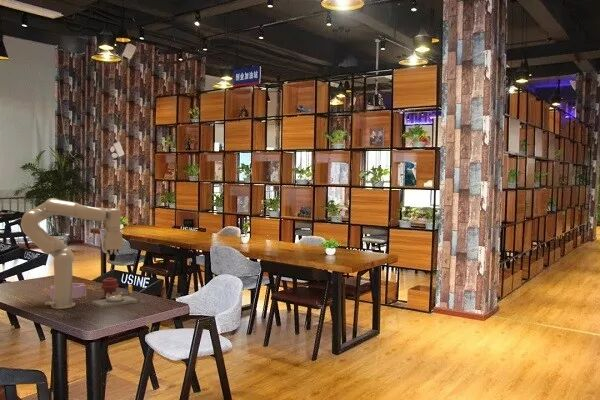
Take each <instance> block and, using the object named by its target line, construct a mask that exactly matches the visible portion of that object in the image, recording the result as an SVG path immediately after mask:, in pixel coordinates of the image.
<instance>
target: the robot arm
mask: <svg viewBox="0 0 600 400" xmlns="http://www.w3.org/2000/svg"><path fill="white" fill-rule="evenodd" d="M121 212H122V211H121V209H120V208H117V207H113V208H112V207H111V208H109V207H108V208H107V207H101V206H100V207H94V206H88V205H83V204H80V203H78V202H76V201H67V200H63V199H59V198H56V197H52V198H48V199H46V200H45V201H44V202H43V203H41V204H39V205H38V206H36V207H33V208H32V209H29V210H27V211H26V212H25V213H24V214H23V215H22V217H21V220H20V227H21V229H22V232H23V233H24V234H25V236H27V238H28V239H29V240H31V242H33V243H34V245H35V246H36V247H37V248H38V249H39V250H40V251H42V252H43V253H44V254H46V255H50V256H51V257H52V258H53V273H54V274H53V275H54V277H53V279H54V282H53V283H54V284H53V286H54V299H51V300H49V301H45V302H44V305H45V306H47V305H48V306H51V309H55V310H58V309H59V310H63V309H70V308H73V307H76V303H75V302H74V301H73V299H74V298H73V283H74V282H73V280H74V279H73V262H74V260H75V254H74V252H73V251H72V250H71V249H70V248H69V246H67V245H66V244H65V243H64V242H63V241H62V240H61V239H59V238H58V237H56V236H54V235H50V234H49V233H48V232H47V231H46V230H45V229H44V228H43V227H41V226H40V224H39V223H42V221H45V220H46V219H48V218H49V217H52V216H53V215H57V216H63V217H70V218H75V219H81V220H87V221H93V222H103V221H106V226H105V227H103V230H104V232H105V233H104V235H103V241H102V248H103V249H102V251H103V252H107V254H108V260H109V261H110V262H115V260H116V255H117V253H119V252H121V251H122V250H123V244H124V243H123V240H124V239H123V233H122V231H121V216H122V215H121Z"/></svg>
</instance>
